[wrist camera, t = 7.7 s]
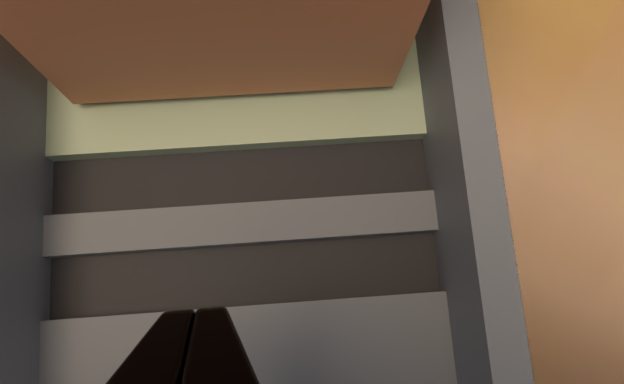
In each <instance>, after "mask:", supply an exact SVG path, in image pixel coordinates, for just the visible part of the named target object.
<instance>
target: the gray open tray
mask: <svg viewBox="0 0 624 384" xmlns="http://www.w3.org/2000/svg"><path fill="white" fill-rule="evenodd" d="M217 306H224V307H226V309H227V310H228V312H229V314H230V317H231V319H232V321H233V323H234V326H235V328H236V330H237V333H238V335H239V337H240V339H241V342H242V344H243V346H244V349H245V351H246V353H247V356H248V358H249V360H250V362H251V365H252V367H253V369H254V372H255V374H256V376H257V378H258V381H259V383H260V384H534V378H533V371H532V364H531V358H530V351H529V344H528V338H527V331H526V324H525V318H524V311H523V304H522V298H521V291H520V284H519V278H518V271H517V264H516V258H515V251H514V244H513V238H512V231H511V224H510V218H509V211H508V204H507V198H506V191H505V184H504V177H503V171H502V164H501V157H500V151H499V144H498V137H497V131H496V124H495V117H494V111H493V104H492V97H491V91H490V84H489V77H488V71H487V64H486V57H485V51H484V44H483V37H482V31H481V24H480V17H479V11H478V4H477V0H431V1H430V4H429V6H428V8H427V10H426V13H425V15H424V17H423V20H422V22H421V24H420V26H419V29H418V31H417V33H416V36H415V38H414V40H413V43H412V45H411V47H410V49H409V52H408V54H407V56H406V59H405V61H404V63H403V65H402V68H401V70H400V72H399V75H398V77H397V79H396V82H395V84H394V86H390V87H373V88H355V89H337V90H319V91H301V92H283V93H265V94H247V95H229V96H212V97H194V98H176V99H158V100H140V101H122V102H104V103H86V104H73V103H71V102H70V101H69V100H68V99H67V98H66V97H65V96H64V95H63V94H62V93H61V92H60V91H59V90H58V89H57V88H56V87H55V86H54V85H53V84H52V83H51V82H50V81H49V80H48V79H47V78H45V77H44V76H43V75H42V74H41V73H40V72H39V71H38V70H37V69H36V68H35V67H34V66H33V65H32V64H31V63H30V62H29V61H28V60H27V59H26V58H25V57H24V56H23V55H22V54H21V53H20V52H18V51H17V50H16V49H15V48H14V47H13V46H12V45H11V44H10V43H9V42H8V41H7V40H6V39H5V38H4V37H3V36H2V35H1V34H0V384H106V382H107V381H108V380H109V379H110V377H111V376H112V375H113V374H114V373H115V371H116V370H117V369H118V368H119V366H120V365H121V364H122V363H123V361H124V360H125V359H126V358H127V356H128V355H129V354H130V353H131V351H132V350H133V349H134V348H135V346H136V345H137V344H138V343H139V341H140V340H141V339H142V338H143V337H144V335H145V334H146V333H147V332H148V330H149V329H150V328H151V327H152V325H153V324H154V323H155V322H156V320H157V319H158V318H159V317H160V315H161V314H162V313H164V312H165V311H169V310H180V309H192V310H194V311H195V312H196V311H197V310H198V309H199V308H205V307H217Z"/></svg>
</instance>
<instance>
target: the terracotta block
mask: <svg viewBox="0 0 624 384" xmlns="http://www.w3.org/2000/svg"><path fill="white" fill-rule="evenodd" d="M430 1H431V0H0V34H1V35H2V36H3V37H4V38H5V39H6V40H7V41H8V42H9V43H10V44H11V45H12V46H13V47H14V48H15V49H16V50H17V51H18V52H20V53H21V54H22V55H23V56H24V57H25V58H26V59H27V60H28V61H29V62H30V63H31V64H32V65H33V66H34V67H35V68H36V69H37V70H38V71H39V72H40V73H41V74H42V75H43V76H44V77H45V78H47V79H48V80H49V81H50V82H51V83H52V84H53V85H54V86H55V87H56V88H57V89H58V90H59V91H60V92H61V93H62V94H63V95H64V96H65V97H66V98H67V99H68V100H69V101H70V102H71V103H73V104H86V103H104V102H122V101H140V100H158V99H176V98H194V97H212V96H229V95H247V94H265V93H283V92H301V91H319V90H337V89H355V88H373V87H390V86H394V84H395V82H396V79H397V77H398V75H399V72H400V70H401V68H402V65H403V63H404V61H405V59H406V56H407V54H408V52H409V49H410V47H411V45H412V43H413V40H414V38H415V36H416V33H417V31H418V29H419V26H420V24H421V22H422V20H423V17H424V15H425V13H426V10H427V8H428V6H429V4H430Z"/></svg>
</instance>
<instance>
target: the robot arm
mask: <svg viewBox="0 0 624 384" xmlns="http://www.w3.org/2000/svg"><path fill="white" fill-rule="evenodd" d="M106 384H260V383H259V381H258V378H257V376H256V374H255V372H254V369H253V367H252V365H251V362H250V360H249V358H248V356H247V353H246V351H245V349H244V346H243V344H242V342H241V339H240V337H239V335H238V333H237V330H236V328H235V326H234V323H233V321H232V319H231V317H230V314H229V312H228V310H227V309H226V307H224V306H217V307H205V308H199V309H198V310H197V311H196V312H195V311H194V310H192V309H180V310H169V311H165V312H164V313H162V314H161V315H160V317H159V318H158V319H157V320H156V322H155V323H154V324H153V325H152V327H151V328H150V329H149V330H148V332H147V333H146V334H145V335H144V337H143V338H142V339H141V340H140V341H139V343H138V344H137V345H136V346H135V348H134V349H133V350H132V351H131V353H130V354H129V355H128V356H127V358H126V359H125V360H124V361H123V363H122V364H121V365H120V366H119V368H118V369H117V370H116V371H115V373H114V374H113V375H112V376H111V377H110V379H109V380H108V381H107V382H106Z"/></svg>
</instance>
